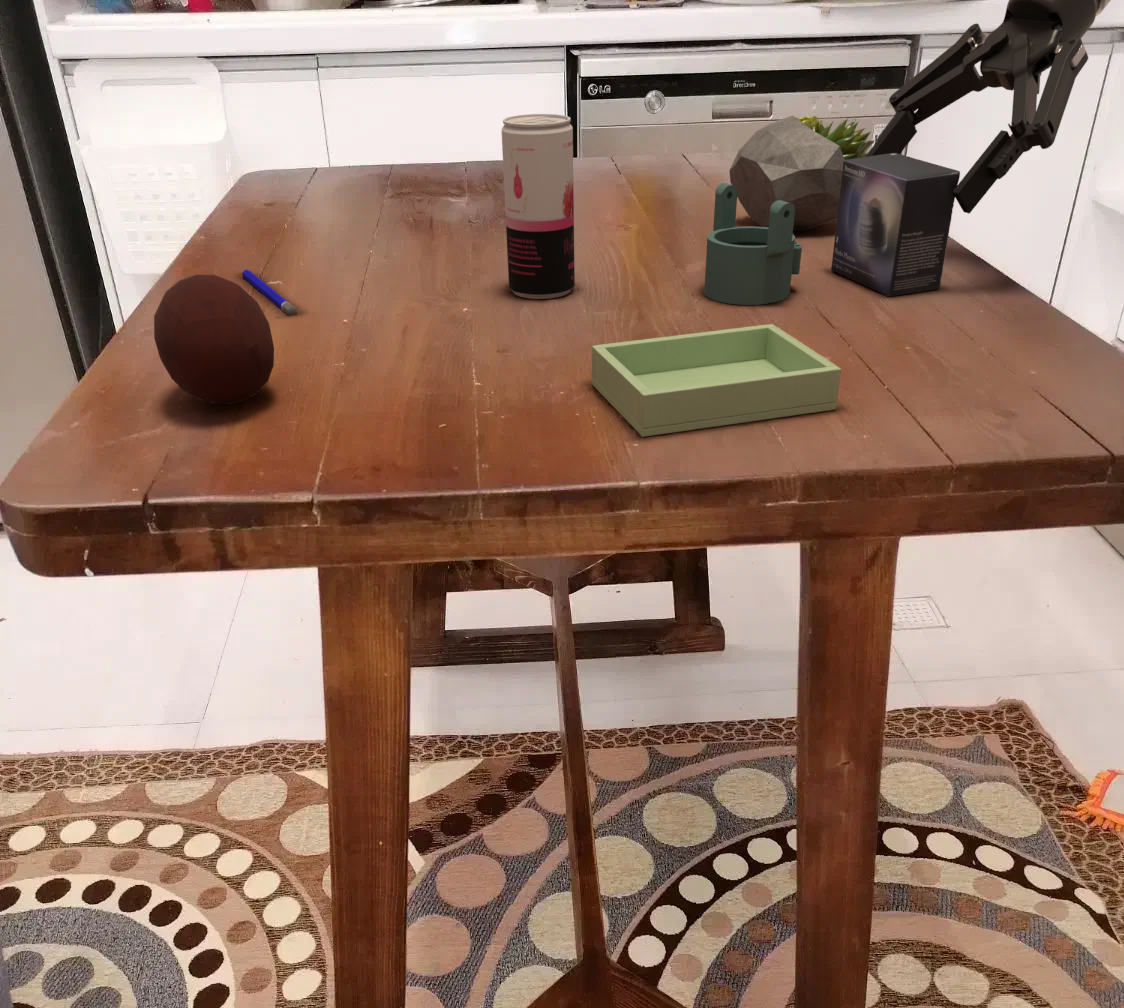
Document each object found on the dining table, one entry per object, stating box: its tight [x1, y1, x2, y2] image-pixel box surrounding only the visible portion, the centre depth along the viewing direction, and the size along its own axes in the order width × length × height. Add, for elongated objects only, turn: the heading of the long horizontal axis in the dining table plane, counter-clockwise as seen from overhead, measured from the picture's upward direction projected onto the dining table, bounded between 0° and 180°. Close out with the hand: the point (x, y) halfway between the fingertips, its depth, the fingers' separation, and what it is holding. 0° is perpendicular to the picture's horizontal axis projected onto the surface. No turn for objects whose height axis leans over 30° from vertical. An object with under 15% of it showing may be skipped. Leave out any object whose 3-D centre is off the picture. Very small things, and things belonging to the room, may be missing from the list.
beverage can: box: [501, 113, 576, 300], centre depth 105 cm, size 7×7×15 cm
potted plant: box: [729, 115, 875, 232], centre depth 125 cm, size 12×13×15 cm
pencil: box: [242, 269, 298, 317], centre depth 111 cm, size 17×1×1 cm, turn 29°
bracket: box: [703, 182, 803, 306], centre depth 105 cm, size 9×9×9 cm
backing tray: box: [591, 323, 842, 438], centre depth 84 cm, size 12×16×3 cm
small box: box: [830, 153, 961, 297], centre depth 107 cm, size 11×6×10 cm, turn 22°
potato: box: [153, 274, 275, 405], centre depth 84 cm, size 9×12×9 cm
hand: (910, 190), depth 106 cm, fingers open, 13 cm apart
